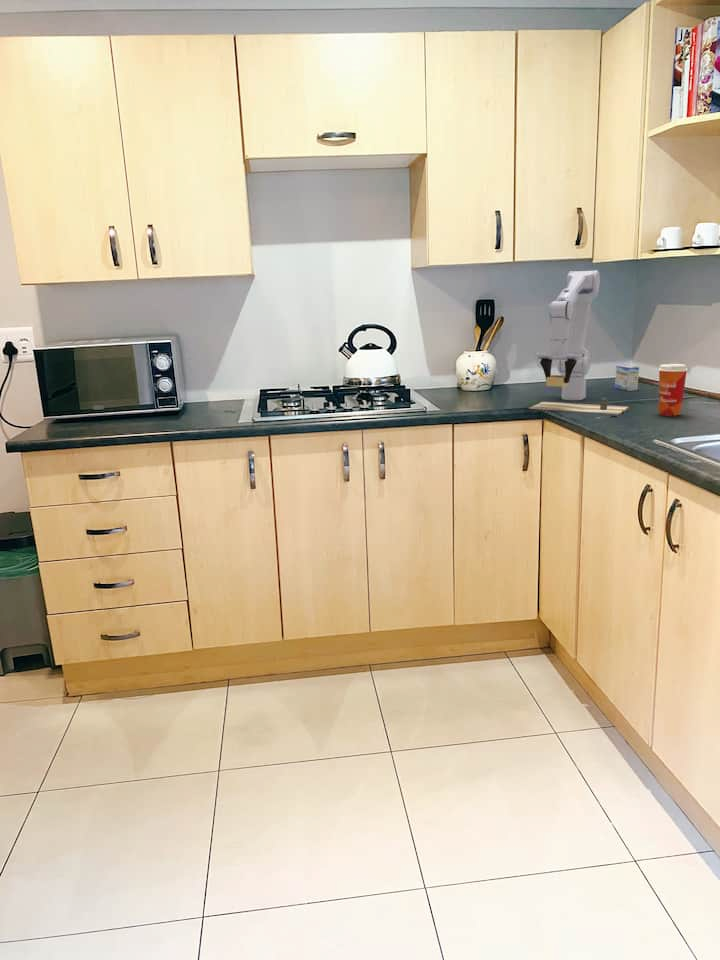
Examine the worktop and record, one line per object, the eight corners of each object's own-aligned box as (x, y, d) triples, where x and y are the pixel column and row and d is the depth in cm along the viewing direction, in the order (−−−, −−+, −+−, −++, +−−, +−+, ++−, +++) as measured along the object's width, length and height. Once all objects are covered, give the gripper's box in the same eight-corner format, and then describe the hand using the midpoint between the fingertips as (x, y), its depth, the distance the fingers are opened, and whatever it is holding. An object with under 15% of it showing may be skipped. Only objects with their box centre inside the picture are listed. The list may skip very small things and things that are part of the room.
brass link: (551, 383, 236) (552, 375, 236) (568, 384, 233) (568, 375, 233) (546, 385, 232) (546, 377, 231) (563, 386, 229) (563, 377, 228)
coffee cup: (648, 413, 222) (652, 364, 218) (670, 411, 224) (673, 362, 220) (669, 418, 214) (673, 367, 210) (690, 415, 217) (695, 365, 213)
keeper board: (542, 404, 244) (543, 391, 243) (628, 409, 229) (629, 395, 228) (528, 411, 233) (528, 397, 232) (617, 417, 218) (618, 402, 217)
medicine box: (614, 388, 274) (615, 365, 271) (624, 387, 275) (625, 364, 273) (627, 391, 266) (629, 367, 264) (637, 390, 268) (639, 366, 265)
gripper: (532, 340, 229) (531, 382, 233) (578, 340, 222) (576, 384, 225) (540, 338, 235) (538, 380, 239) (584, 339, 227) (582, 381, 231)
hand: (557, 382), depth 232 cm, fingers closed on brass link, 5 cm apart
